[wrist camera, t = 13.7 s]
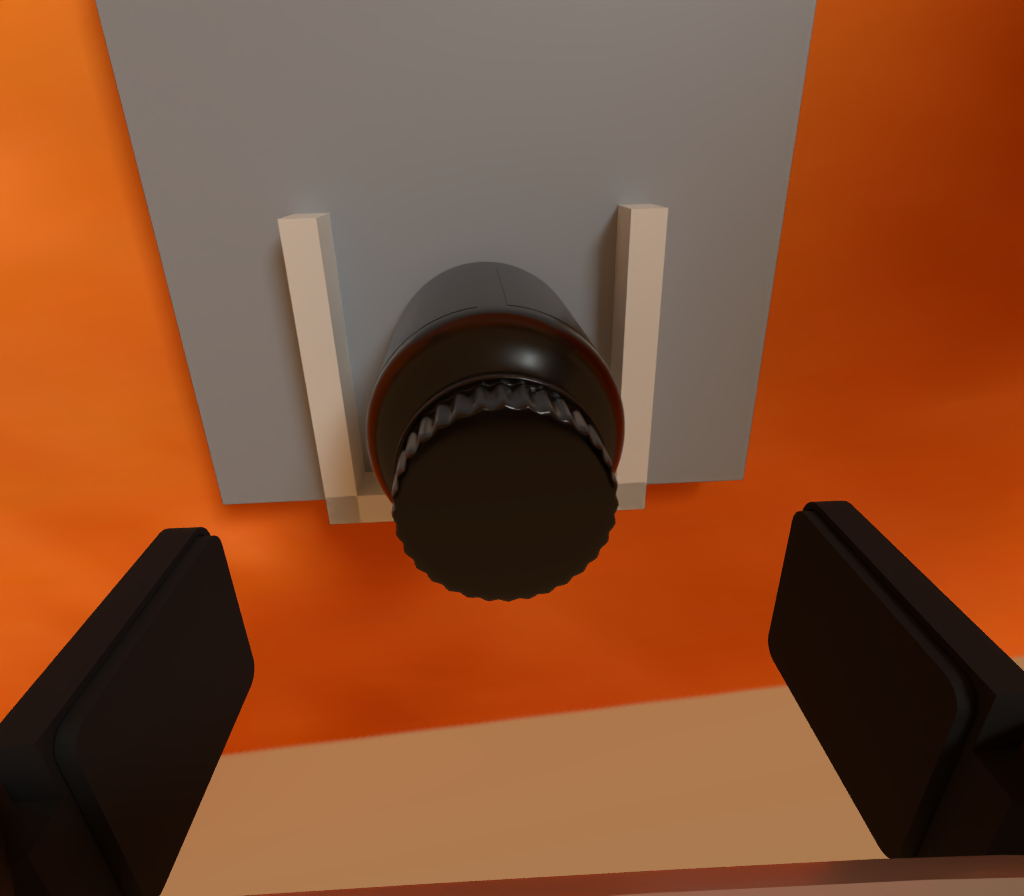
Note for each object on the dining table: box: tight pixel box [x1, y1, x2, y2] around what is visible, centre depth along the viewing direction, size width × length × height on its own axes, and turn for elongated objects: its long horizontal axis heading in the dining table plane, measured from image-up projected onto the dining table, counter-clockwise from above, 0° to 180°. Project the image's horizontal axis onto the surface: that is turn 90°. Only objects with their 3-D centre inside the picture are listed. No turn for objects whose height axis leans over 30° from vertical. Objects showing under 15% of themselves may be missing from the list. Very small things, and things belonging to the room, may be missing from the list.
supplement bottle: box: [366, 262, 625, 602], centre depth 18 cm, size 7×7×12 cm
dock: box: [95, 0, 817, 524], centre depth 22 cm, size 20×22×5 cm
